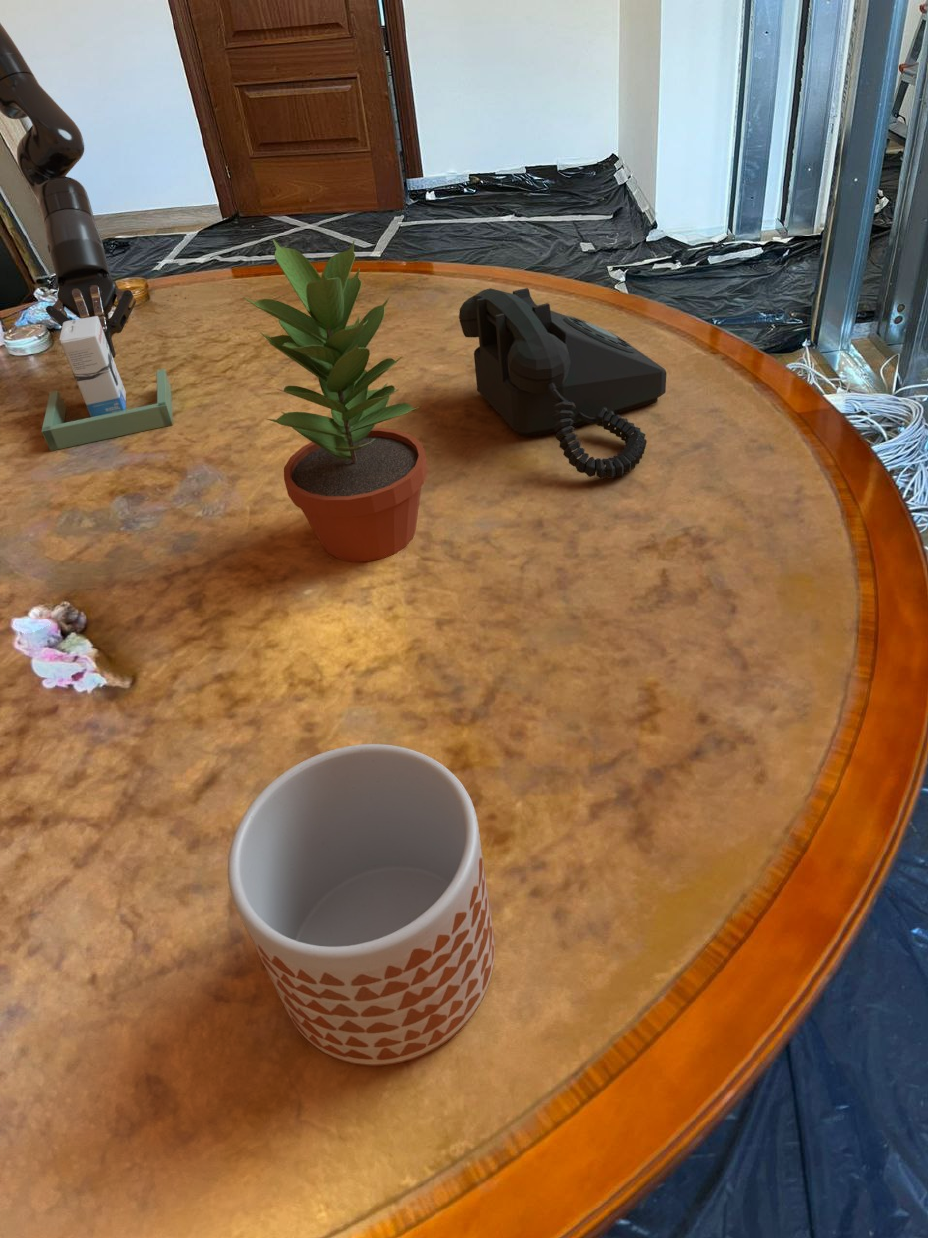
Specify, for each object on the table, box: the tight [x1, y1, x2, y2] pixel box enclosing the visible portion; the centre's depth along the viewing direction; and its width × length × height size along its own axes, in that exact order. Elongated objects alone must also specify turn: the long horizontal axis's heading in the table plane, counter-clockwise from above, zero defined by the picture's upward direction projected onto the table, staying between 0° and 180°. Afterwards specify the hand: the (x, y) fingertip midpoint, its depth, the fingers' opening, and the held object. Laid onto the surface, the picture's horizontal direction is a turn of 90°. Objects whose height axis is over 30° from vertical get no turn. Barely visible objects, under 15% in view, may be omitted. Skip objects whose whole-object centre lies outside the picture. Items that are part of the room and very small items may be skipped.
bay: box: [40, 368, 174, 452], centre depth 120 cm, size 13×16×3 cm
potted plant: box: [243, 237, 429, 563], centre depth 82 cm, size 15×15×30 cm
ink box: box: [58, 316, 127, 417], centre depth 120 cm, size 8×5×12 cm, turn 17°
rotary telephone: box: [458, 287, 667, 480], centre depth 103 cm, size 33×22×15 cm, turn 20°
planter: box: [227, 743, 496, 1067], centre depth 50 cm, size 14×14×13 cm
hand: (106, 360), depth 125 cm, fingers closed
